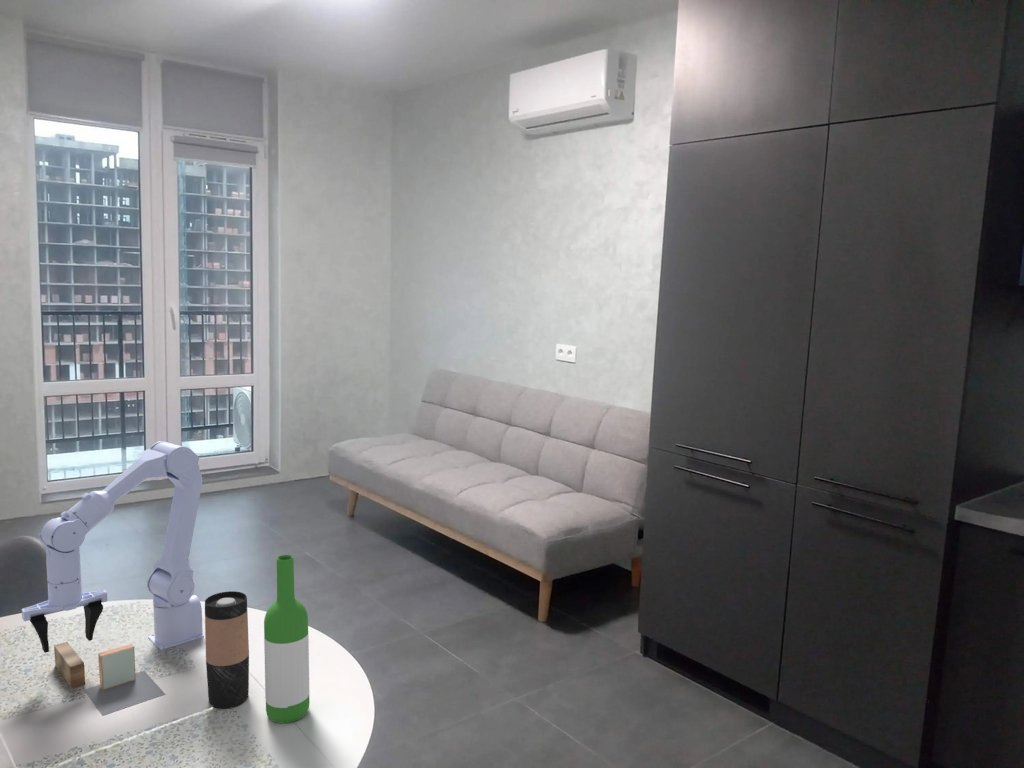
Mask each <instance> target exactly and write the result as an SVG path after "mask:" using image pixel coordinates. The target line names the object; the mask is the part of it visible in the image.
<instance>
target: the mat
mask: <svg viewBox="0 0 1024 768" xmlns="http://www.w3.org/2000/svg"><path fill="white" fill-rule="evenodd" d="M135 675H136V680H135V681H132V682H128V683H125V684H122V685H119V686H116V687H113V688H110V689H107V690H103V691H102V689H101V688H100V684H97V685H95V686H92V687H88V688H85V689H83V690H84V692H85V694H86V695H87V696H88V697H89V699H90V700H91V702H92V703H93V704H94V707H96V708H97V710H98V712H99V714H101V716H102V717H103V716H107V715H109V714H112V713H114V712H119V711H121V710H124V709H127V708H130V707H132V706H136V705H139V704H141V703H144V702H147V701H151V700H153V699H157V698H159V697H162V696H165V695H166V693H165V692H164V691H163V689H161V687H159V685H158V684H157V683H156V682H155V681H154V679H152V678H151V676H150V675H149V674H148V673H147V672H146V671H145V670H142V671H138V672H135Z"/></svg>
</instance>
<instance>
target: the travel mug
mask: <svg viewBox="0 0 1024 768" xmlns="http://www.w3.org/2000/svg"><path fill="white" fill-rule="evenodd" d="M248 616H249V615H248V597H247V595H246V593H243V592H241V591H235V590H234V591H233V590H232V591H223V592H216V593H215V594H214V593H213V594H212V595H210V596H208V597H206V599H205V600H204V631H205V632H204V633H205V634H204V638H205V639H204V640H205V666H206V679H207V681H206V682H207V695H208V696H207V697H208V703H209V704H210V706H211V707H212V708H214V709H216V710H227V709H229V710H230V709H234V708H237V707H239V706H241V705H243V704H244V703H246V702H247V700H248V699H249V693H250V692H249V689H250V675H249V674H250V673H249V672H250V649H249V647H250V645H249V618H248Z"/></svg>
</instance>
